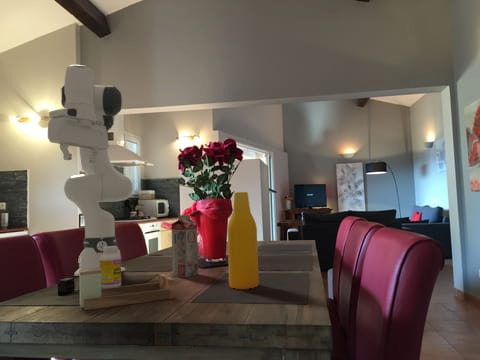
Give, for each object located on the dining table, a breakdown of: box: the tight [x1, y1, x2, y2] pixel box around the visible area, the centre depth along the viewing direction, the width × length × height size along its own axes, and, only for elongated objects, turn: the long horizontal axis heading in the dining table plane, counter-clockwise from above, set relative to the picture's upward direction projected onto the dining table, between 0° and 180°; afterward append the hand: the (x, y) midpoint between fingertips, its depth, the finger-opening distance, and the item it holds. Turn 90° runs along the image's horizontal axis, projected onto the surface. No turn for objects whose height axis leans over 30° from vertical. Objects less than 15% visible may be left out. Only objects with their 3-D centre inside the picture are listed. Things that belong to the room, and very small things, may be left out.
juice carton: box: [171, 214, 199, 278], centre depth 142 cm, size 7×7×22 cm
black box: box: [47, 277, 80, 297], centre depth 118 cm, size 12×7×5 cm, turn 166°
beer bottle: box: [227, 191, 260, 290], centre depth 119 cm, size 9×9×29 cm
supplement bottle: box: [100, 245, 122, 289], centre depth 125 cm, size 7×7×13 cm
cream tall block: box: [78, 268, 102, 309], centre depth 103 cm, size 5×5×9 cm
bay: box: [83, 272, 175, 311], centre depth 107 cm, size 12×23×5 cm, turn 116°
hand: (80, 161), depth 116 cm, fingers open, 8 cm apart
